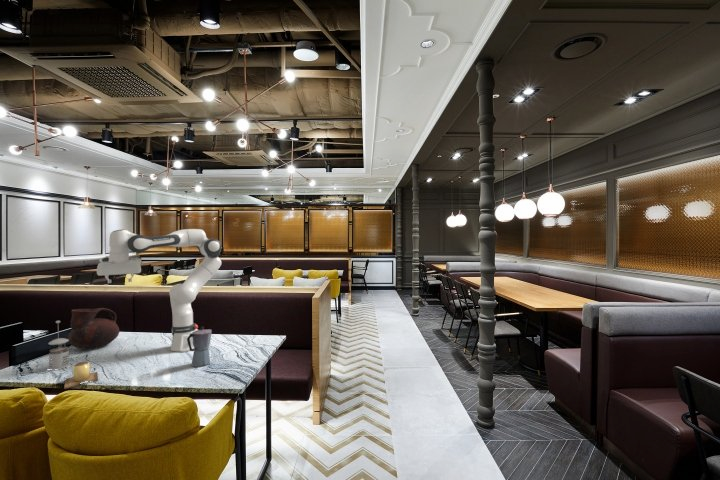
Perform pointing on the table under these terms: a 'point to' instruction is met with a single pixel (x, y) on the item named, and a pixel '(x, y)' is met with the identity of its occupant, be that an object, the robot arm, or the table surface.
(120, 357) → the table surface
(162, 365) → the table surface
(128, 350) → the table surface
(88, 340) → the jug
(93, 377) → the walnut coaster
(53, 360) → the french press
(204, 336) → the moka pot
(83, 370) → the ochre cup
